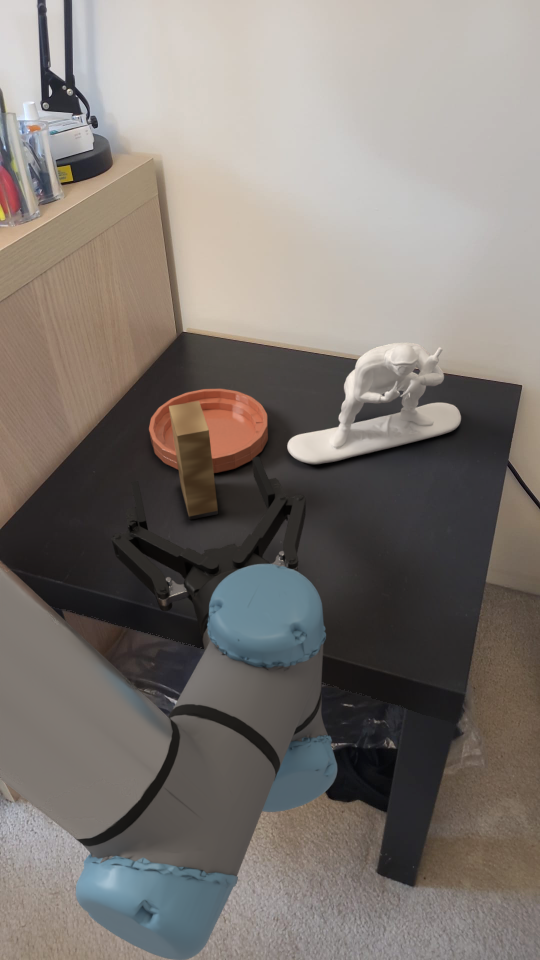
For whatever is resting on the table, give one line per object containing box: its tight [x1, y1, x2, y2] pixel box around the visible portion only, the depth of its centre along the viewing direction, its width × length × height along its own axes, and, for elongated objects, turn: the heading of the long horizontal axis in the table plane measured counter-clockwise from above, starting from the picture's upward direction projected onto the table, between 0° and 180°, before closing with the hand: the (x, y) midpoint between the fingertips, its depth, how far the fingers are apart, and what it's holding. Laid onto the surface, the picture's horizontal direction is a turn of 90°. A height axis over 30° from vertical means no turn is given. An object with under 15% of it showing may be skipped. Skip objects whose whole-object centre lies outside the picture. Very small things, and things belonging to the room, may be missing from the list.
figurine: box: [286, 341, 462, 465], centre depth 89 cm, size 26×13×17 cm, turn 109°
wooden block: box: [169, 401, 219, 521], centre depth 82 cm, size 4×6×13 cm, turn 15°
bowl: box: [148, 388, 269, 474], centre depth 95 cm, size 16×16×3 cm
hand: (197, 478), depth 76 cm, fingers open, 13 cm apart
